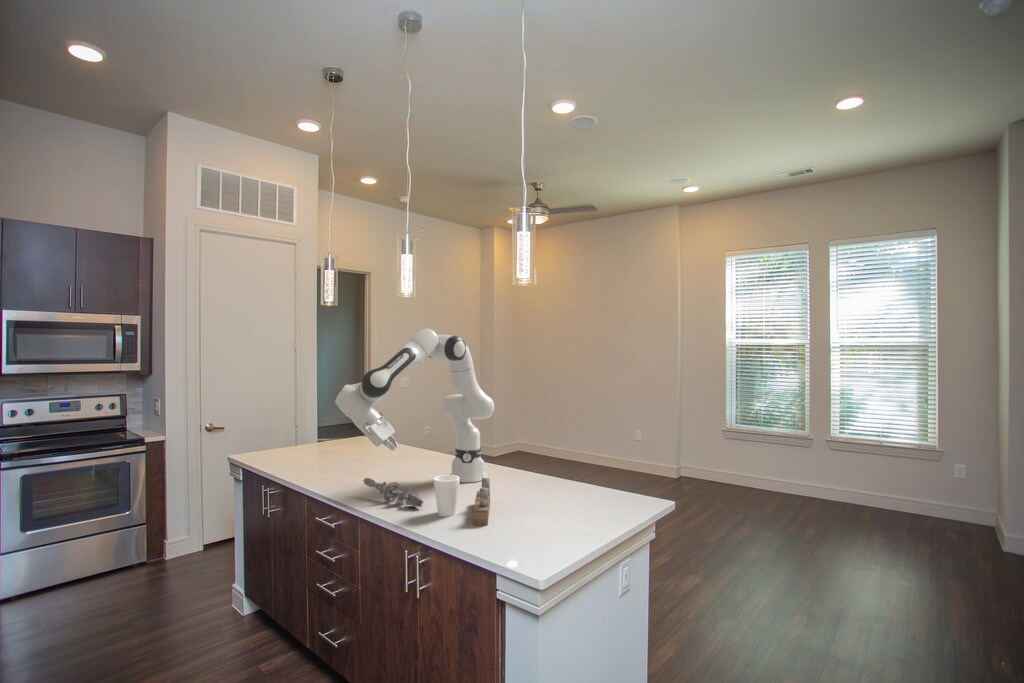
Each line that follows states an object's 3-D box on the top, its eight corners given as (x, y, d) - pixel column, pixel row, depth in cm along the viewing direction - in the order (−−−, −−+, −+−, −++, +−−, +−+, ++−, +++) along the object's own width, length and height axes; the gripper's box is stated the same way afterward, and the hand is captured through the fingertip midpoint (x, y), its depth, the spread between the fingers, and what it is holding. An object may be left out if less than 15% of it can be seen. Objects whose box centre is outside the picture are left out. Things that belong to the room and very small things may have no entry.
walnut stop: (477, 503, 199) (477, 475, 199) (490, 503, 199) (490, 475, 199) (473, 525, 175) (473, 492, 175) (487, 525, 175) (487, 492, 175)
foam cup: (464, 512, 188) (464, 477, 188) (449, 519, 180) (449, 482, 180) (444, 508, 193) (444, 473, 193) (428, 515, 185) (428, 479, 185)
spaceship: (373, 472, 215) (360, 468, 209) (432, 495, 195) (419, 492, 189) (366, 491, 213) (352, 487, 207) (425, 516, 193) (411, 513, 187)
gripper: (368, 419, 179) (395, 447, 179) (382, 412, 200) (407, 437, 200) (355, 432, 179) (383, 460, 179) (370, 423, 200) (395, 448, 200)
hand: (395, 448), depth 190 cm, fingers open, 3 cm apart
